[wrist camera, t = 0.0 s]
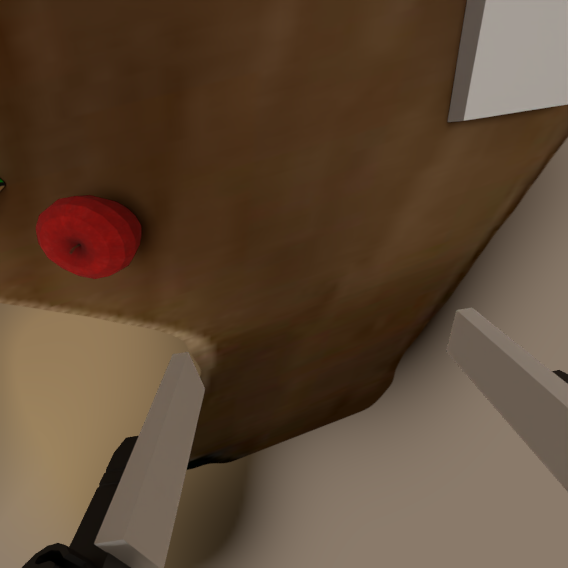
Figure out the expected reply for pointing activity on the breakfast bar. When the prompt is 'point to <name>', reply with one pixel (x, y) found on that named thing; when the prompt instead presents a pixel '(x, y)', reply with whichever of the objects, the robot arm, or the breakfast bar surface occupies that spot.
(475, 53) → the dock
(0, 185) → the puzzle cube
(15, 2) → the breakfast bar surface
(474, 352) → the robot arm
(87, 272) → the apple
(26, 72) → the breakfast bar surface
